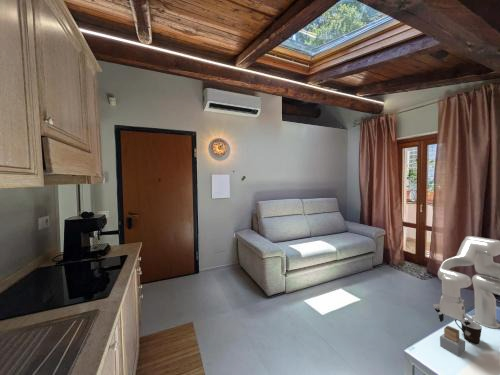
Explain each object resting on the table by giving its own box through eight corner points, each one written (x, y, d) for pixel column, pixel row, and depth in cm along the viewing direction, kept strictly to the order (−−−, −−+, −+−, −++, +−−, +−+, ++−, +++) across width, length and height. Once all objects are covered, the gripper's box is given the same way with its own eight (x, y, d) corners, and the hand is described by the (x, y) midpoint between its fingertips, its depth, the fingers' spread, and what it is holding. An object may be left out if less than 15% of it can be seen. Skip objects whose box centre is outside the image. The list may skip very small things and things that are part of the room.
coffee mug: (486, 346, 119) (486, 329, 119) (469, 345, 120) (468, 328, 120) (469, 332, 130) (469, 316, 130) (453, 330, 132) (453, 315, 132)
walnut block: (447, 333, 122) (447, 325, 122) (459, 338, 118) (459, 330, 118) (444, 336, 120) (444, 328, 120) (456, 342, 115) (455, 333, 115)
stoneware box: (447, 341, 124) (447, 331, 124) (465, 351, 117) (465, 340, 117) (440, 346, 121) (439, 335, 121) (458, 356, 114) (457, 345, 113)
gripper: (475, 302, 112) (476, 332, 113) (435, 288, 128) (436, 315, 128) (469, 307, 109) (471, 338, 109) (429, 292, 124) (430, 319, 125)
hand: (452, 325), depth 119 cm, fingers open, 9 cm apart
